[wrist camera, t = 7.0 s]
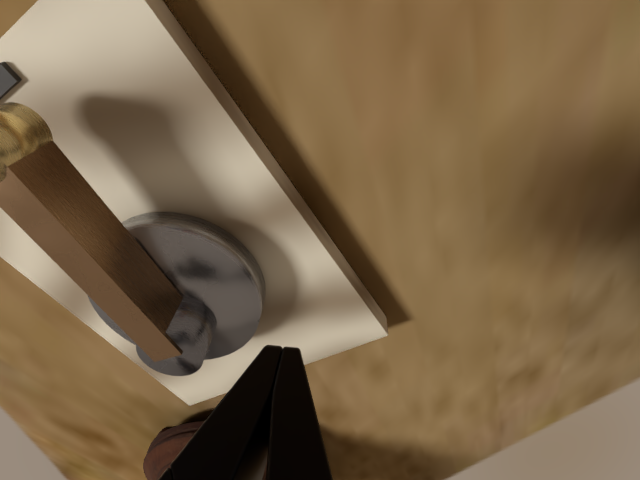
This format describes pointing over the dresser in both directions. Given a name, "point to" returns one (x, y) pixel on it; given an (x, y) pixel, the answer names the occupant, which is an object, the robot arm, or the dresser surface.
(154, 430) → the dresser surface
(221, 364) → the ash stand
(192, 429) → the brown tall stacked figurine
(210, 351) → the cam lever
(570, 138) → the dresser surface
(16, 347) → the dresser surface
